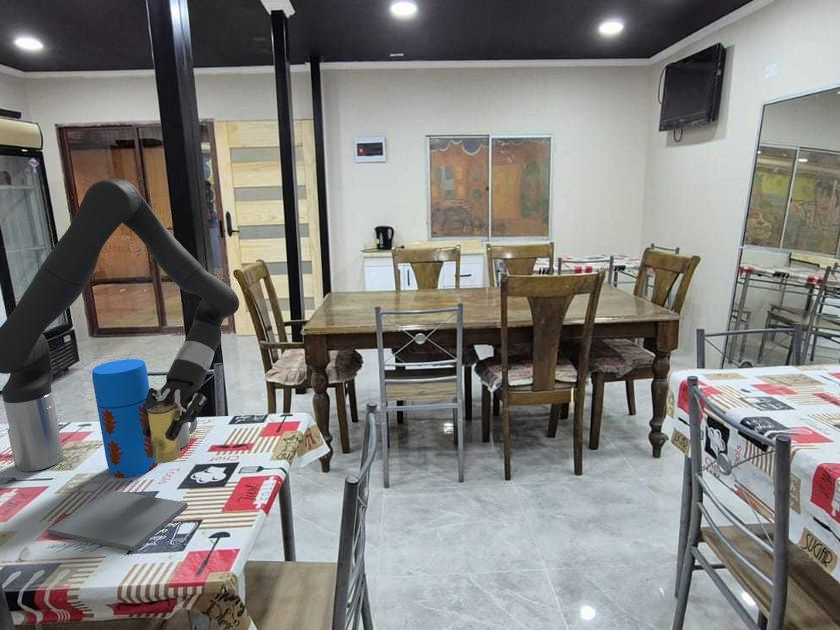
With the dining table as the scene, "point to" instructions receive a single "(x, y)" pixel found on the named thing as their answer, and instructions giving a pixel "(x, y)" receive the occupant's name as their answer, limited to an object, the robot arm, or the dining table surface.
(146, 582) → the dining table surface
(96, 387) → the thermos
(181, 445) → the cup
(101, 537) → the slate board
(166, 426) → the canister
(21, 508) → the dining table surface
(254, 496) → the dining table surface
